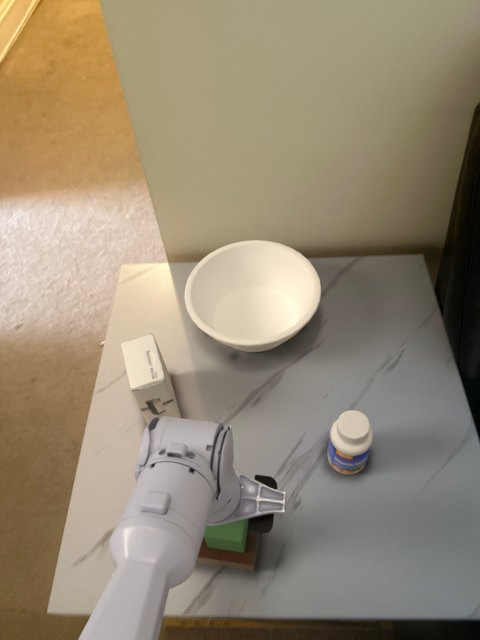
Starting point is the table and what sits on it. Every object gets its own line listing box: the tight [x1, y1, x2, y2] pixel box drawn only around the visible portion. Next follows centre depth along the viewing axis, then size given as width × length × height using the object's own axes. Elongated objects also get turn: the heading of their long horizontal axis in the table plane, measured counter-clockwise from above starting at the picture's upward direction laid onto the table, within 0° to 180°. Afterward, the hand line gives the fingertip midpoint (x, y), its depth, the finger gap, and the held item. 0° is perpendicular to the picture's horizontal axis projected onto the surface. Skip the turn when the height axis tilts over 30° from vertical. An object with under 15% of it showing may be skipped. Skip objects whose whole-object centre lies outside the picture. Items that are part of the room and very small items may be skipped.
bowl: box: [184, 239, 322, 353], centre depth 90 cm, size 21×21×8 cm
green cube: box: [204, 518, 249, 553], centre depth 68 cm, size 4×4×4 cm
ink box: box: [120, 332, 182, 424], centre depth 80 cm, size 9×5×12 cm, turn 17°
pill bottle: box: [326, 409, 374, 475], centre depth 74 cm, size 5×5×10 cm
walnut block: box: [197, 531, 261, 572], centre depth 71 cm, size 7×7×3 cm
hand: (223, 509), depth 64 cm, fingers open, 7 cm apart
